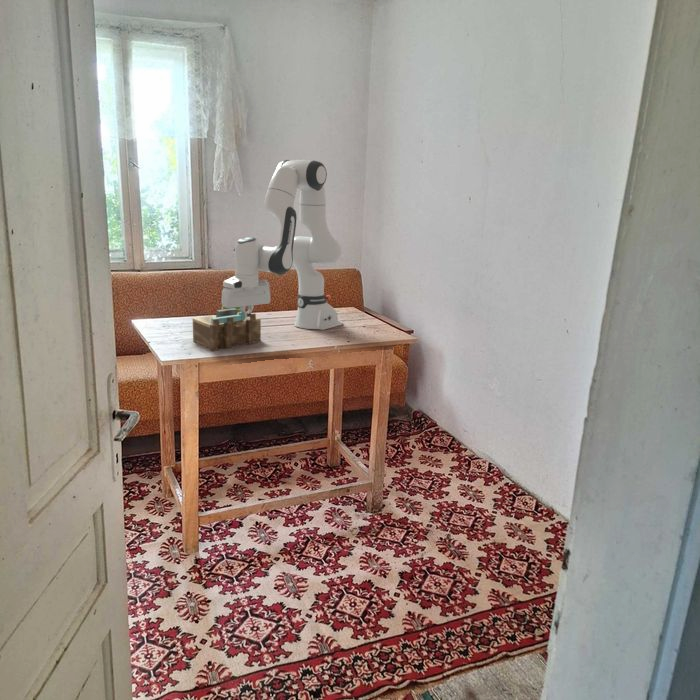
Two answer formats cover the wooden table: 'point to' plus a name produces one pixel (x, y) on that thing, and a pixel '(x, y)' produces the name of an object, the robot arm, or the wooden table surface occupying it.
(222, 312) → the lid
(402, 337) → the wooden table surface
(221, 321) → the bar
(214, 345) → the wooden crate
